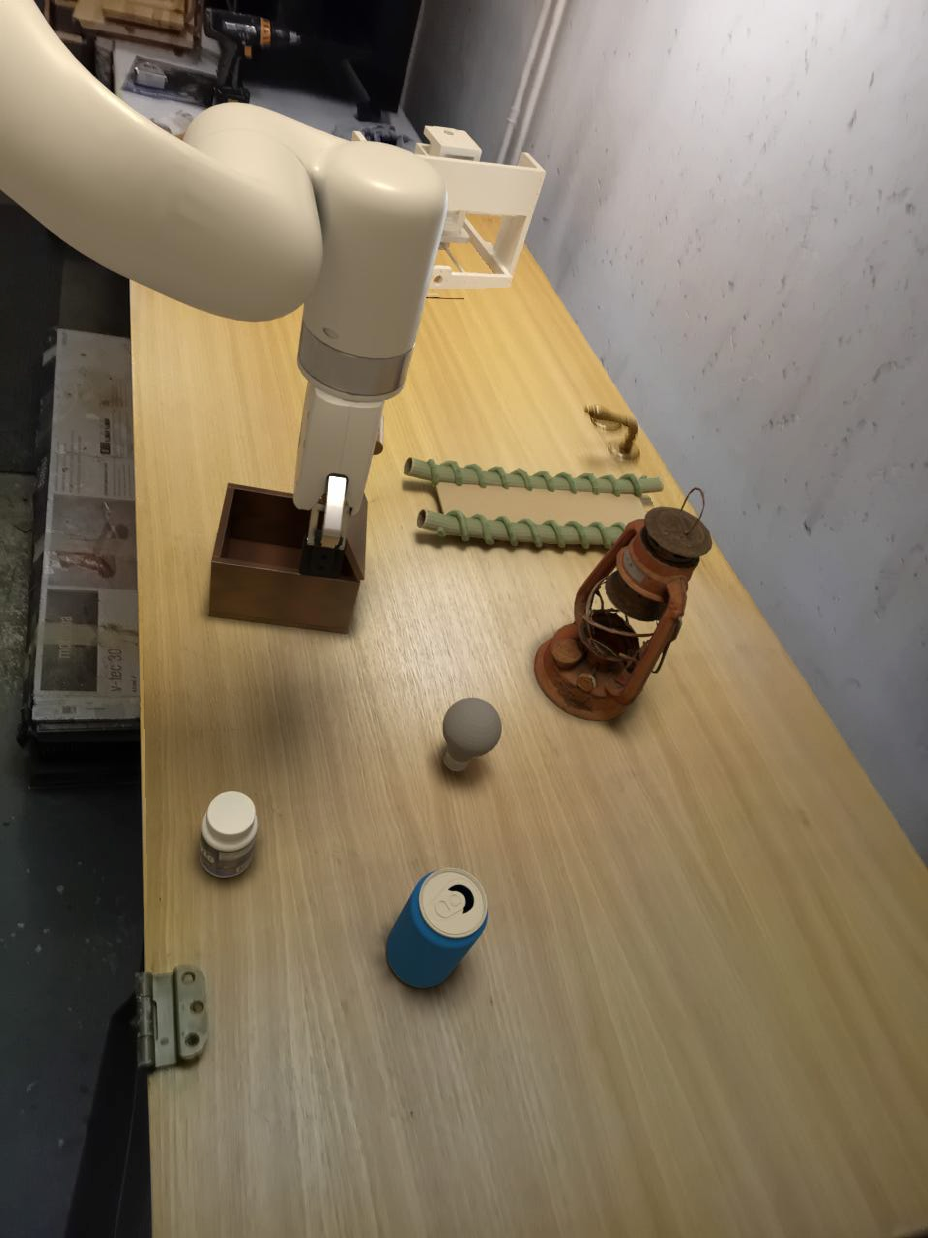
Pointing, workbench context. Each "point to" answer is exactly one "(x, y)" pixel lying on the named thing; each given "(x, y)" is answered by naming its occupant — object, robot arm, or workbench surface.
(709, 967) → the workbench surface
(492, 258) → the 3d printer
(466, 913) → the beverage can
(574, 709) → the lantern
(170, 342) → the workbench surface
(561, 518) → the stretcher
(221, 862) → the pill bottle
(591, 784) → the workbench surface
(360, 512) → the lid
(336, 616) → the chest
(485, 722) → the light bulb
